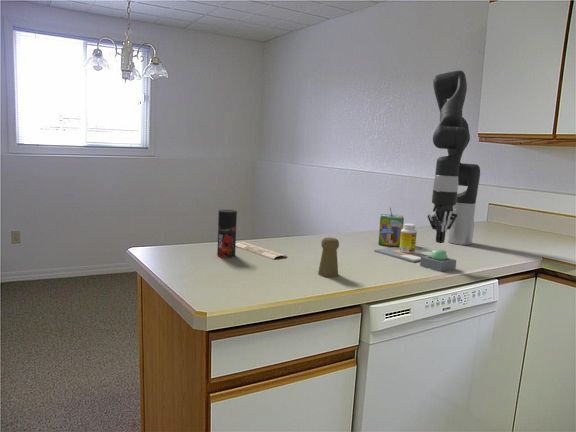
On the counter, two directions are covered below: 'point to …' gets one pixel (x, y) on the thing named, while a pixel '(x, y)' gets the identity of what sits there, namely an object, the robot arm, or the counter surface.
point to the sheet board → (405, 254)
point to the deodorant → (226, 233)
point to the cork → (329, 258)
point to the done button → (439, 255)
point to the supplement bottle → (408, 239)
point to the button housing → (438, 263)
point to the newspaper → (258, 250)
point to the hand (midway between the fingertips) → (439, 242)
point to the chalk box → (390, 229)
